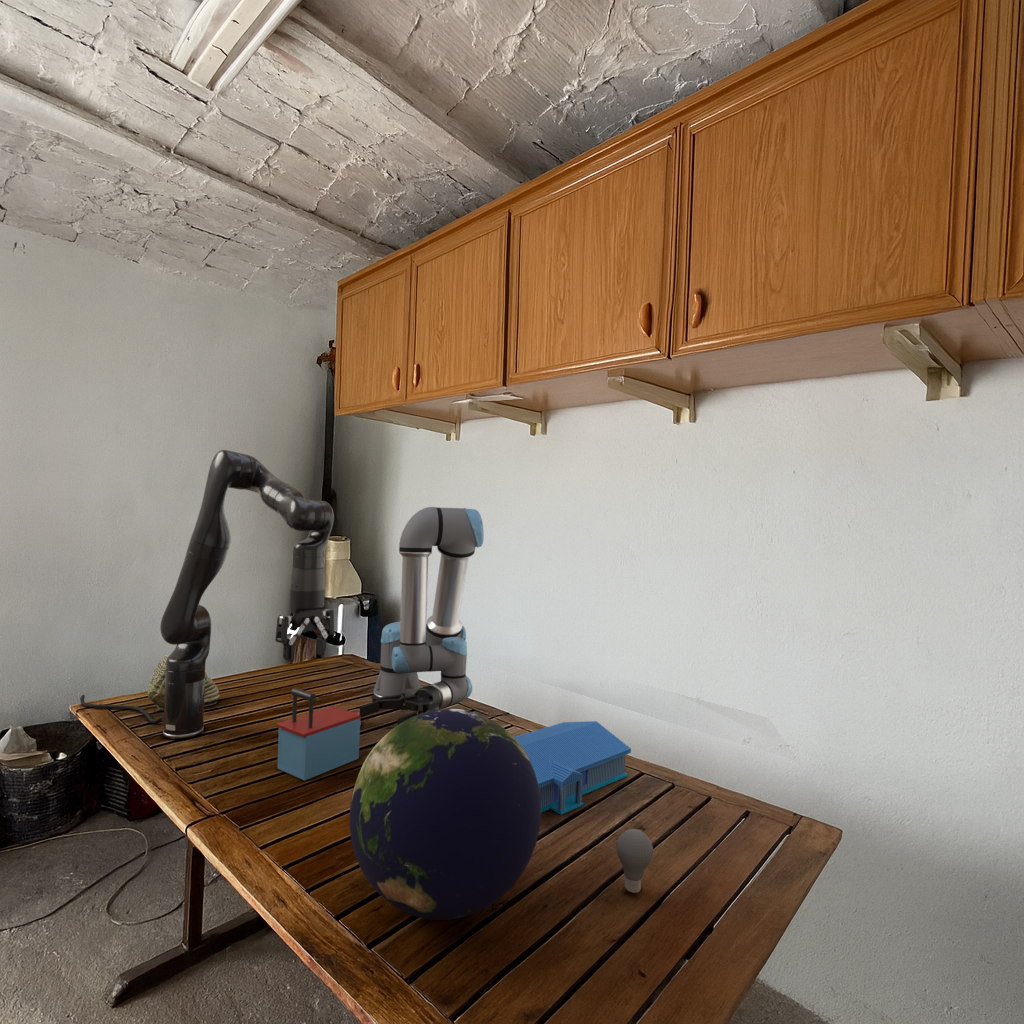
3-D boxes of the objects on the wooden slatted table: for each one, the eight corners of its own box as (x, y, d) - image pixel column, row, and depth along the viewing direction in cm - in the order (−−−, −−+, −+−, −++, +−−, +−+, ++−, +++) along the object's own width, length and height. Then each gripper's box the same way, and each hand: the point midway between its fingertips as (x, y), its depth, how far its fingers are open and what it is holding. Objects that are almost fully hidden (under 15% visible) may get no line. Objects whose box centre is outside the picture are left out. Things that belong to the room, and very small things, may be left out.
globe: (303, 931, 92) (311, 727, 92) (410, 834, 120) (417, 677, 120) (490, 1000, 81) (500, 768, 81) (561, 876, 109) (569, 702, 108)
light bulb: (610, 879, 108) (613, 822, 108) (644, 879, 109) (647, 822, 109) (619, 902, 102) (622, 840, 102) (655, 901, 103) (658, 840, 103)
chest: (304, 780, 141) (306, 736, 141) (277, 768, 146) (278, 726, 146) (358, 758, 154) (360, 718, 154) (331, 748, 159) (333, 709, 159)
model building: (516, 834, 122) (519, 783, 122) (441, 787, 140) (443, 743, 140) (639, 780, 148) (641, 738, 148) (562, 747, 166) (564, 709, 166)
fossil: (144, 707, 182) (145, 655, 182) (212, 696, 194) (213, 647, 194) (151, 716, 175) (153, 662, 175) (221, 703, 188) (223, 653, 188)
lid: (303, 737, 140) (305, 698, 140) (276, 726, 146) (277, 689, 146) (360, 718, 154) (361, 682, 153) (333, 709, 159) (334, 674, 159)
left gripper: (291, 592, 137) (288, 666, 137) (343, 586, 149) (340, 655, 149) (270, 588, 141) (267, 660, 142) (322, 582, 153) (319, 649, 153)
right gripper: (466, 721, 176) (414, 743, 158) (399, 702, 189) (345, 721, 171) (467, 694, 175) (416, 714, 158) (400, 677, 189) (346, 693, 171)
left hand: (304, 657), depth 145 cm, fingers open, 8 cm apart
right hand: (378, 717), depth 164 cm, fingers open, 13 cm apart
